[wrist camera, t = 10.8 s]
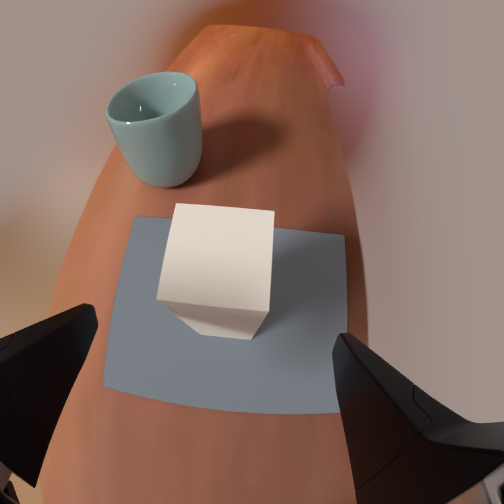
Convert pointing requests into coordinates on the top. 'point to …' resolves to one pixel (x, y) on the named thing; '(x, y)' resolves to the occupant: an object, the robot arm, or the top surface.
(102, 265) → the top surface
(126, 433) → the top surface
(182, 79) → the cup
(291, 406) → the slate mat
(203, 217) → the block
